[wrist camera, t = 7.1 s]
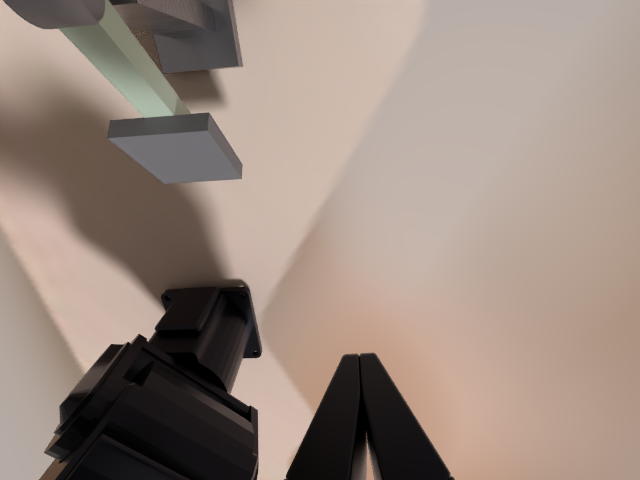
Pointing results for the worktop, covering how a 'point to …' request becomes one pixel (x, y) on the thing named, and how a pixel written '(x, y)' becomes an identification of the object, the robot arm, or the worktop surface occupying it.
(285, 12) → the worktop surface
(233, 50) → the lever post
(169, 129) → the lever
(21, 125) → the worktop surface
